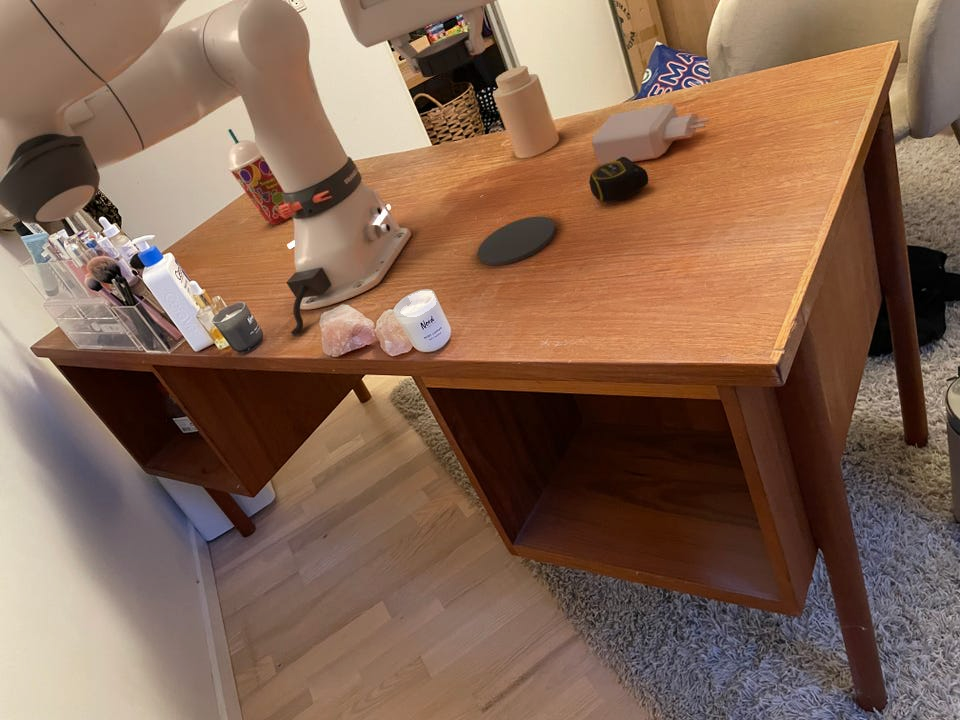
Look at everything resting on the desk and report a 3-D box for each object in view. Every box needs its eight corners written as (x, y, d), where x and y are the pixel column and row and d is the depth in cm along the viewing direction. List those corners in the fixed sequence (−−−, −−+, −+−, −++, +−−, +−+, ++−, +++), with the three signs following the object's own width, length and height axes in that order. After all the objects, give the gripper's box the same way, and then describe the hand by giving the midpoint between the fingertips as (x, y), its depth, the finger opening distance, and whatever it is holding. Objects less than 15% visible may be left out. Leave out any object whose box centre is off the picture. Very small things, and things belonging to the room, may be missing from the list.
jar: (559, 147, 114) (533, 70, 107) (514, 163, 116) (486, 89, 109) (559, 131, 120) (534, 57, 113) (516, 146, 123) (490, 75, 116)
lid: (452, 55, 85) (444, 36, 83) (488, 47, 79) (480, 27, 78) (411, 80, 82) (403, 61, 81) (446, 74, 77) (438, 54, 75)
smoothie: (291, 222, 140) (236, 130, 129) (259, 232, 143) (202, 144, 132) (306, 203, 146) (255, 115, 136) (275, 214, 149) (222, 128, 139)
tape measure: (653, 191, 88) (646, 164, 86) (604, 213, 89) (596, 187, 87) (634, 176, 94) (627, 151, 92) (588, 196, 94) (580, 172, 92)
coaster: (556, 249, 86) (554, 245, 86) (475, 274, 89) (474, 270, 89) (556, 211, 95) (554, 207, 95) (483, 235, 98) (481, 232, 98)
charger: (700, 155, 91) (599, 169, 100) (719, 124, 97) (622, 140, 106) (692, 122, 89) (590, 139, 98) (713, 91, 94) (614, 111, 103)
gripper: (490, -111, 69) (535, 28, 77) (346, -42, 81) (397, 72, 88) (463, -97, 65) (513, 48, 73) (315, -27, 77) (372, 92, 84)
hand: (448, 62), depth 81 cm, fingers closed on lid, 7 cm apart
